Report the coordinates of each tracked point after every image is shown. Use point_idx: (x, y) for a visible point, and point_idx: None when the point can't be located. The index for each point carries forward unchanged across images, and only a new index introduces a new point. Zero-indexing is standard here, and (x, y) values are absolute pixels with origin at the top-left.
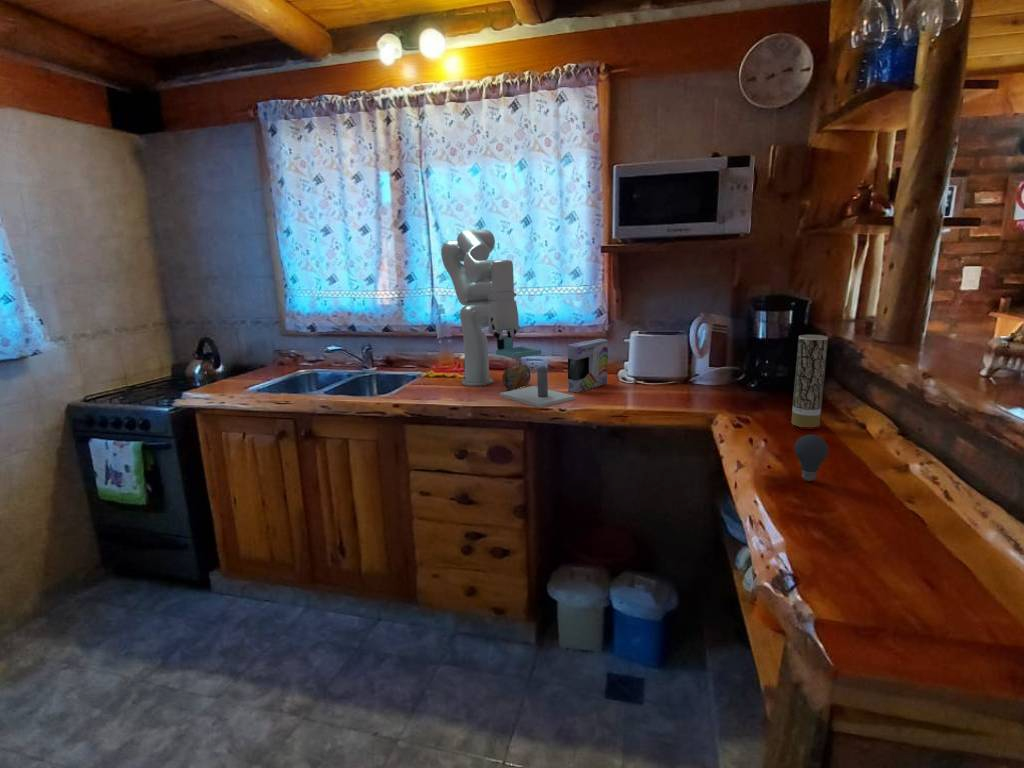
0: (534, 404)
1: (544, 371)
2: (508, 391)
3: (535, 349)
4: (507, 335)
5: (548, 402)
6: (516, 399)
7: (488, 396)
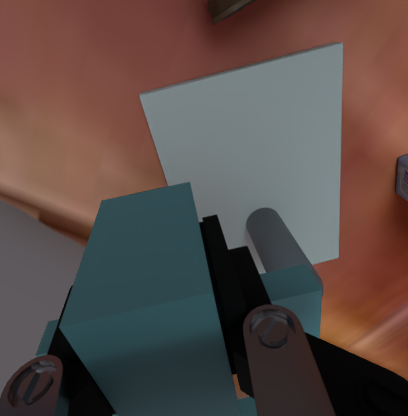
0: None
1: None
2: (188, 87)
3: None
4: (248, 352)
5: None
6: None
7: (89, 63)
